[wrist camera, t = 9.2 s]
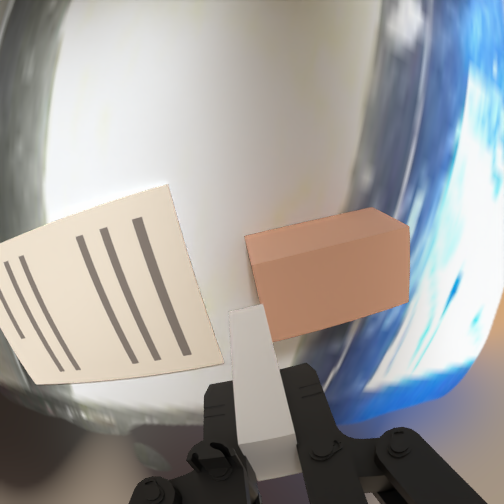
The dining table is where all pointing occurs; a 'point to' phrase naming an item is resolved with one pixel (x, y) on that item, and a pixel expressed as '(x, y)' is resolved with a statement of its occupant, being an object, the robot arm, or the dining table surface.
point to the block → (330, 270)
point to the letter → (105, 295)
